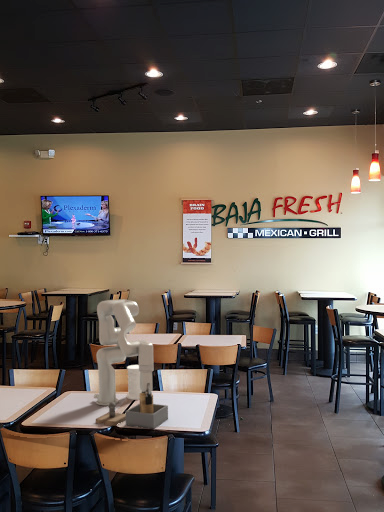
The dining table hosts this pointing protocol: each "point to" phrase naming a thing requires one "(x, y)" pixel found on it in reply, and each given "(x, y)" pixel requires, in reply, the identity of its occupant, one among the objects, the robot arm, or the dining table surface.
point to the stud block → (111, 416)
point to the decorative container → (133, 382)
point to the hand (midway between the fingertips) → (146, 401)
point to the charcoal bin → (147, 416)
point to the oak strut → (143, 406)
